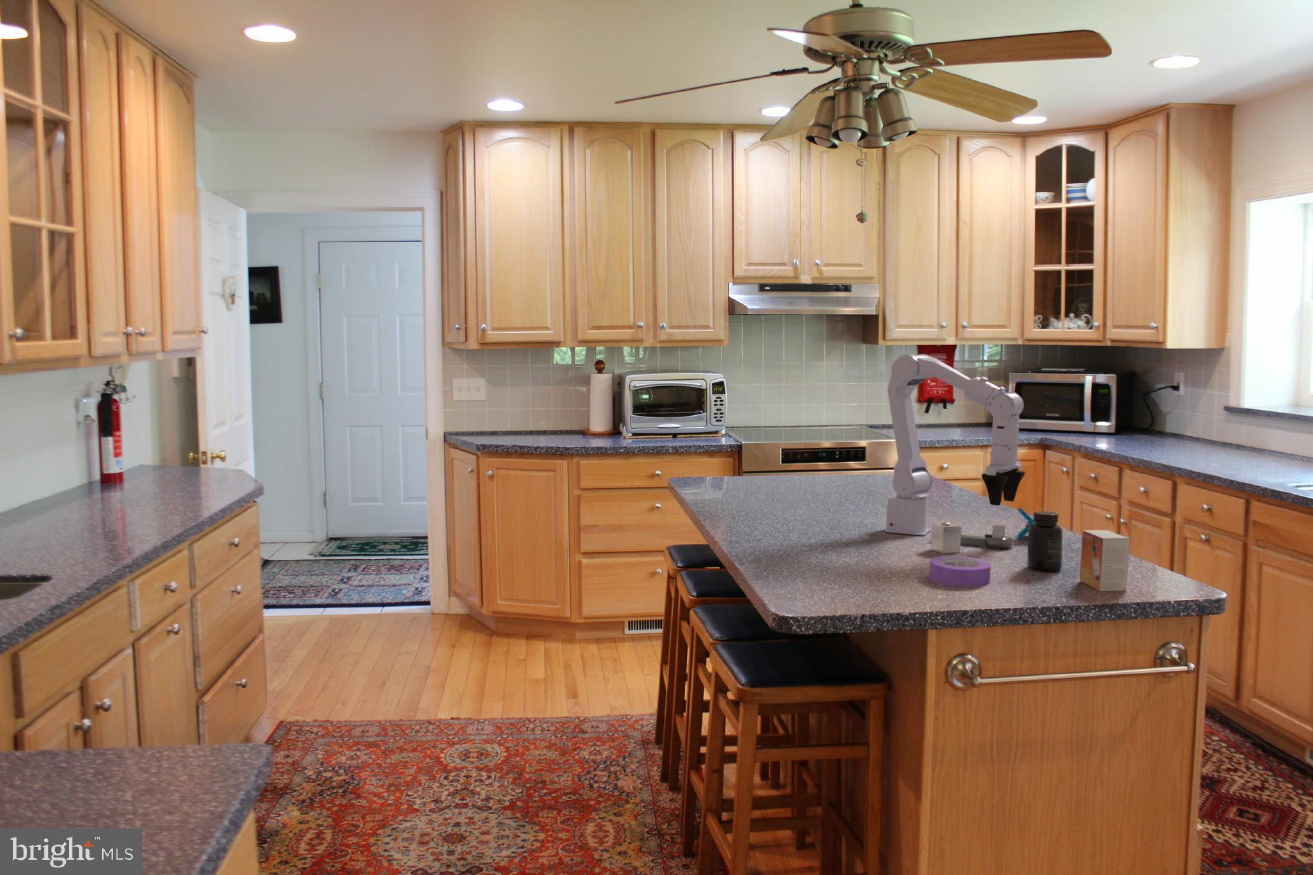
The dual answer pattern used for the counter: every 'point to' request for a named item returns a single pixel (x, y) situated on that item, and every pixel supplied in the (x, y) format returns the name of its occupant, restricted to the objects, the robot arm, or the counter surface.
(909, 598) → the counter surface
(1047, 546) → the supplement bottle
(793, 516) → the counter surface
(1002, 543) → the ratchet
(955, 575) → the masking tape
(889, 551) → the counter surface
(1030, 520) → the gear
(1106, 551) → the small box
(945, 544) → the socket
